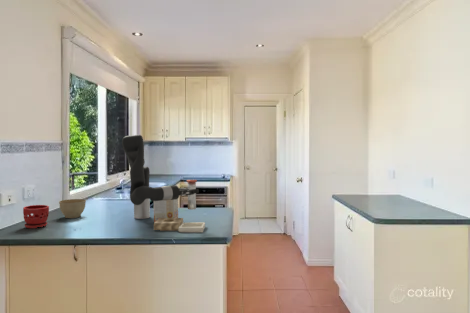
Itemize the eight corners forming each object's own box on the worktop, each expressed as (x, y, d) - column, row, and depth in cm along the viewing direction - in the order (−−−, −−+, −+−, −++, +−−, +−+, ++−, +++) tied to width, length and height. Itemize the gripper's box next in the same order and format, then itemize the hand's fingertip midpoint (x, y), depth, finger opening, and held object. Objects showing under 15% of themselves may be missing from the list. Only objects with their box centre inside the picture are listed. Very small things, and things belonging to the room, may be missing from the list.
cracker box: (178, 221, 218) (178, 187, 218) (174, 223, 212) (174, 188, 212) (158, 220, 222) (157, 186, 221) (153, 222, 216) (153, 188, 216)
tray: (178, 232, 190) (178, 227, 189) (182, 226, 203) (182, 222, 202) (202, 232, 189) (202, 227, 189) (205, 226, 202) (205, 222, 202)
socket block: (153, 230, 194) (153, 223, 194) (159, 224, 208) (159, 218, 208) (179, 230, 194) (178, 223, 194) (183, 224, 208) (183, 217, 208)
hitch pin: (186, 209, 193) (185, 180, 192) (187, 208, 198) (187, 179, 198) (196, 209, 193) (196, 180, 192) (197, 208, 198) (197, 179, 198)
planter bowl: (68, 220, 222) (68, 203, 222) (54, 217, 231) (54, 201, 231) (91, 216, 235) (90, 200, 235) (77, 213, 244) (76, 198, 244)
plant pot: (19, 230, 198) (19, 208, 197) (28, 225, 211) (28, 205, 210) (45, 228, 200) (44, 207, 200) (52, 223, 213) (51, 204, 213)
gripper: (175, 187, 181) (203, 184, 191) (162, 184, 192) (189, 182, 202) (175, 201, 181) (203, 198, 192) (162, 198, 192) (189, 195, 203)
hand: (195, 190), depth 197 cm, fingers closed on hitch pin, 4 cm apart
